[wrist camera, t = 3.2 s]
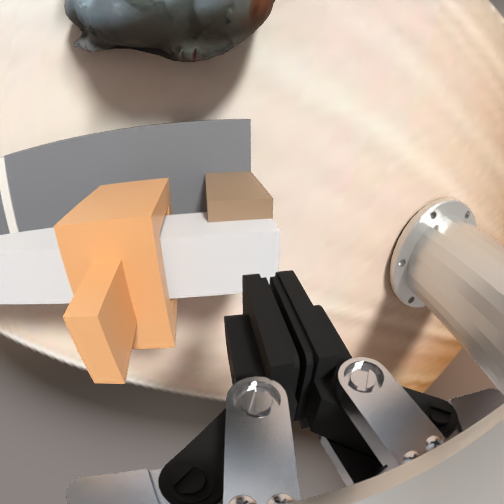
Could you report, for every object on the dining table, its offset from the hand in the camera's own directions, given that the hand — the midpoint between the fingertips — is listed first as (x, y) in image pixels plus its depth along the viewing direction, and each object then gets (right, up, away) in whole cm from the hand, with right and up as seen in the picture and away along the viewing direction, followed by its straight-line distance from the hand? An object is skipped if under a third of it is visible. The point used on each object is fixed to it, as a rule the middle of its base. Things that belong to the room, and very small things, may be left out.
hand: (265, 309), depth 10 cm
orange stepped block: (-7, +3, +6) cm, 10 cm away
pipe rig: (-14, +5, +10) cm, 18 cm away
